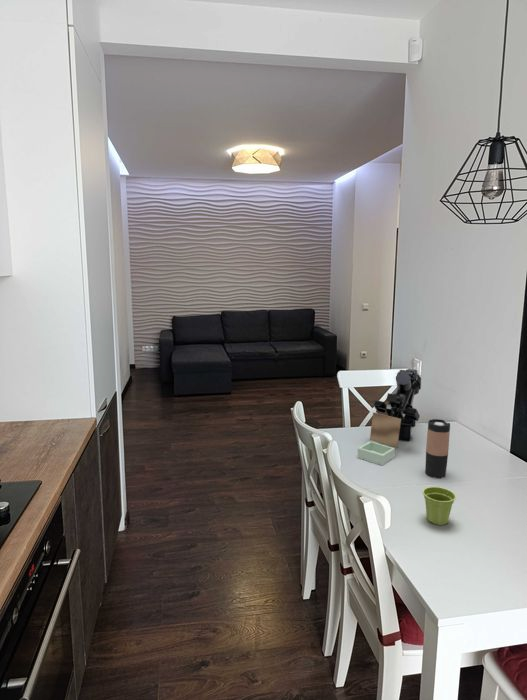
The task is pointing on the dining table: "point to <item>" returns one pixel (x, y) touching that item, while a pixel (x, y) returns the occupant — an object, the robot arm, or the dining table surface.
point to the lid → (385, 429)
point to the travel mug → (437, 448)
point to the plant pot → (438, 504)
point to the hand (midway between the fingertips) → (388, 427)
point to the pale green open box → (376, 453)
